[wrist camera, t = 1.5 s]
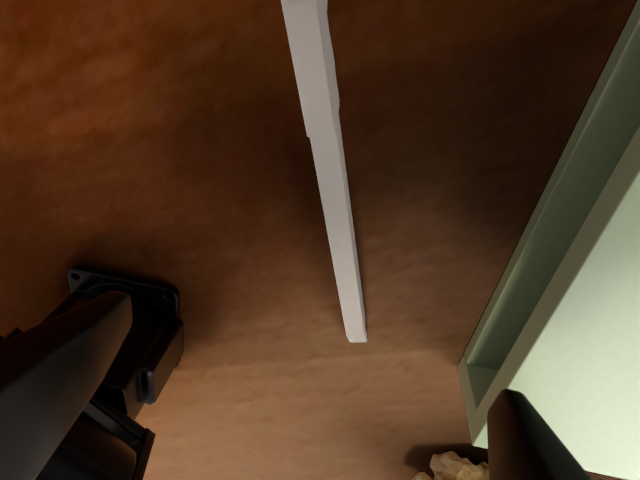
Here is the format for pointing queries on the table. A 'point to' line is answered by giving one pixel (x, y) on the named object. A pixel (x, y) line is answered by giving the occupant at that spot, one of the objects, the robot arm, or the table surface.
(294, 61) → the caliper
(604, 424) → the desk shelf
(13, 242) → the table surface
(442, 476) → the mineral formation
